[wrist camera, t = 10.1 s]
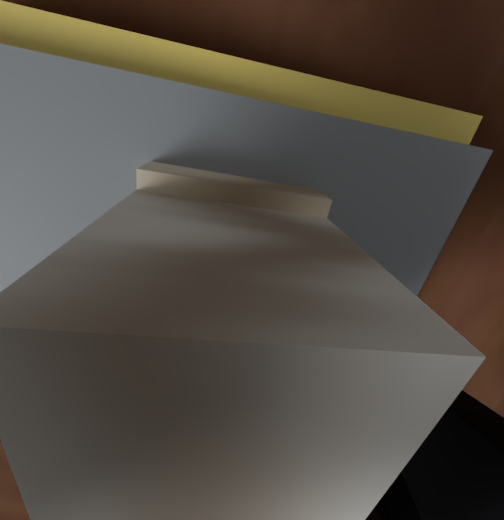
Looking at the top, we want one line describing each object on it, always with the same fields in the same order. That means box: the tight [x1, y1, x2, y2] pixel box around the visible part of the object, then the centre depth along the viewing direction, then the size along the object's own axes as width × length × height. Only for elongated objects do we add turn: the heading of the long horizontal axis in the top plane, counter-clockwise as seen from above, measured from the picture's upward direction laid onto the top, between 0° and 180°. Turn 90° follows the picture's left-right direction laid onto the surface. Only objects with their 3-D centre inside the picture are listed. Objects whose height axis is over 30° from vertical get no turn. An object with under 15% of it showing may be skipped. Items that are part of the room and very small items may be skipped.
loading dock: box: [0, 0, 493, 296], centre depth 11 cm, size 16×13×3 cm
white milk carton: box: [0, 161, 486, 520], centre depth 7 cm, size 5×8×6 cm, turn 170°
